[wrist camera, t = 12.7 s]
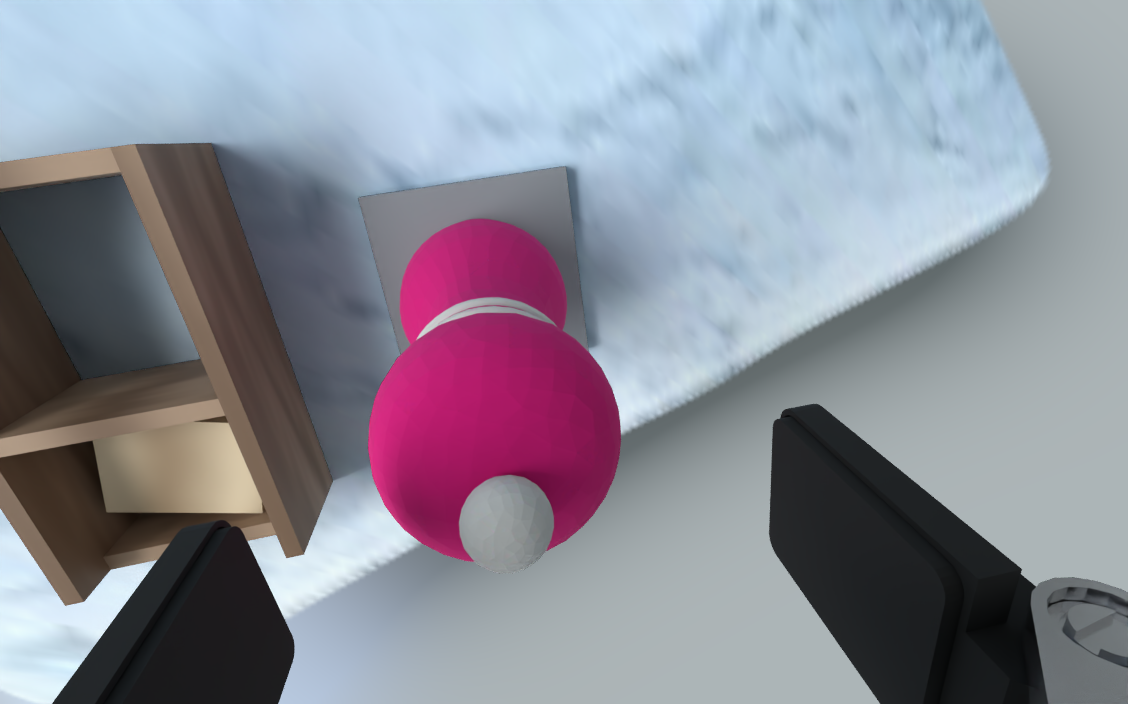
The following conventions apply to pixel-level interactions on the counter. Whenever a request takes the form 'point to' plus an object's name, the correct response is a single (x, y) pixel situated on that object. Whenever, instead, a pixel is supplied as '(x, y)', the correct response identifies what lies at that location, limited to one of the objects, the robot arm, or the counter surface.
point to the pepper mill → (491, 403)
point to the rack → (149, 379)
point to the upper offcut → (177, 470)
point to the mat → (509, 198)
